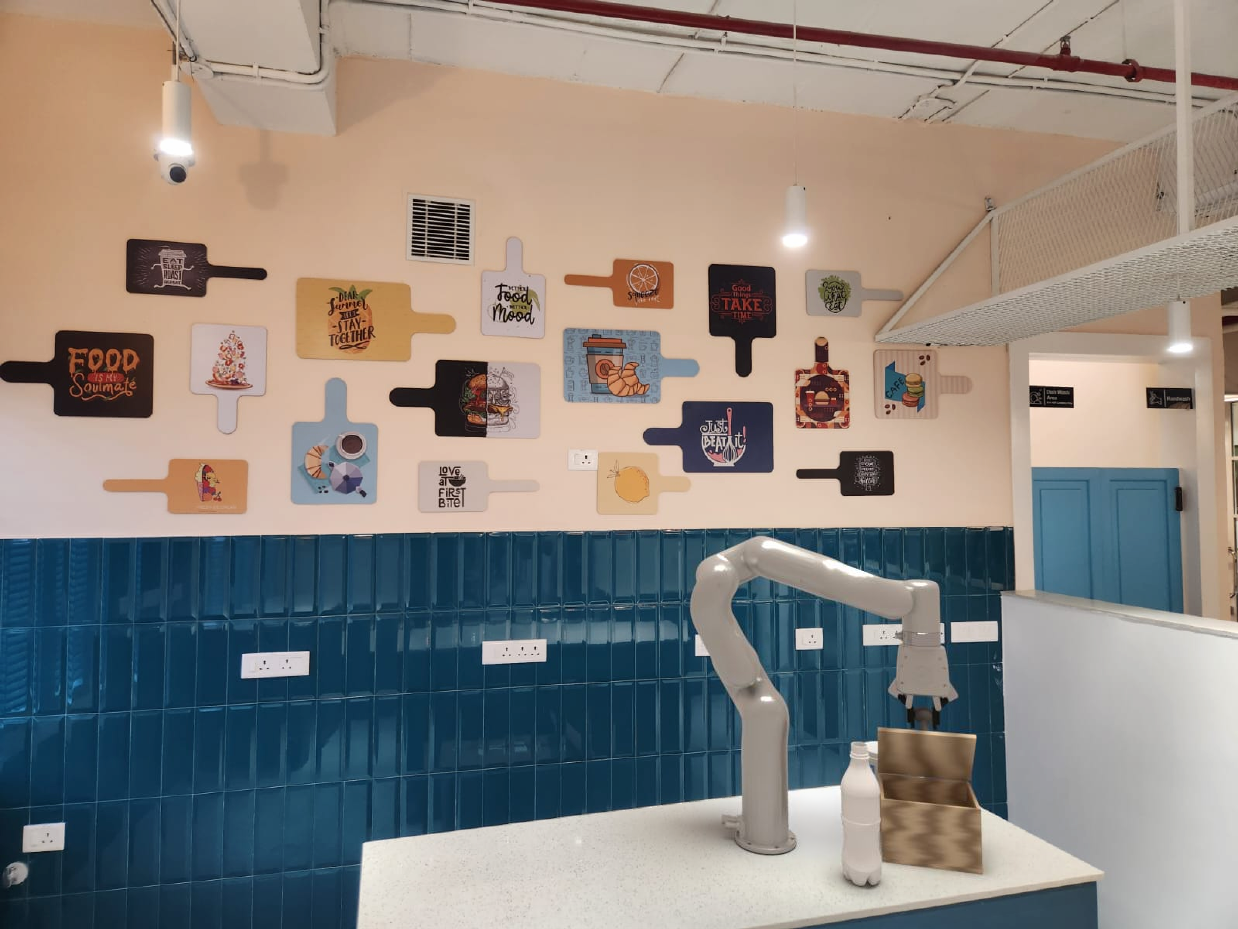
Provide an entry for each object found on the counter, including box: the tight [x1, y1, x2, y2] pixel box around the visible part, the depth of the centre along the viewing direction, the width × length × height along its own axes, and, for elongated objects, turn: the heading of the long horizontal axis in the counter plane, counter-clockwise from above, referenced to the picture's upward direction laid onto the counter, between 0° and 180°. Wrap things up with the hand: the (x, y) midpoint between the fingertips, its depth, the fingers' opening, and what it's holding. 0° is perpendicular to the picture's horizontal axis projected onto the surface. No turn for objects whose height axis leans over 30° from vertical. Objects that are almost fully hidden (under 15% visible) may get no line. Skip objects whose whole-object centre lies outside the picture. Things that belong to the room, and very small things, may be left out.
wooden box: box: [879, 773, 984, 875], centre depth 154 cm, size 18×15×12 cm
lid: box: [877, 706, 977, 782], centre depth 160 cm, size 18×15×8 cm
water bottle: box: [839, 741, 883, 887], centre depth 143 cm, size 7×7×25 cm
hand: (923, 726), depth 159 cm, fingers closed on lid, 3 cm apart
